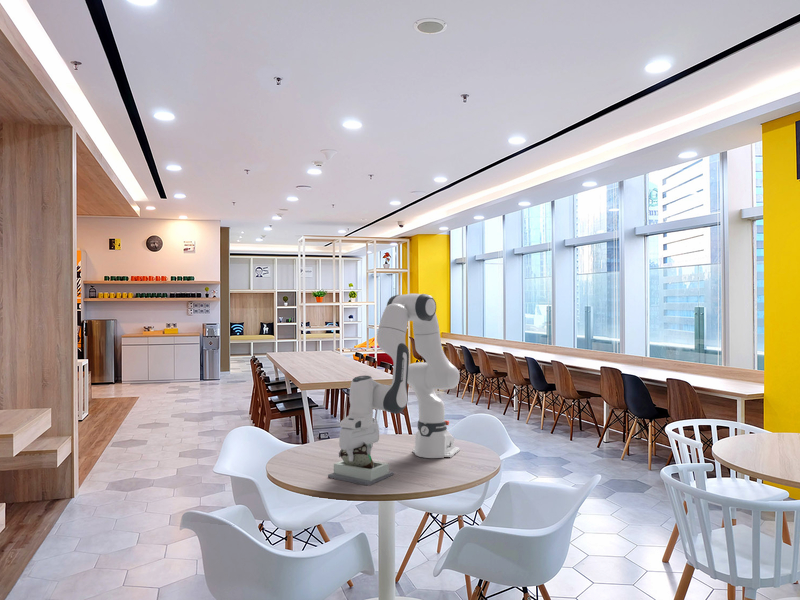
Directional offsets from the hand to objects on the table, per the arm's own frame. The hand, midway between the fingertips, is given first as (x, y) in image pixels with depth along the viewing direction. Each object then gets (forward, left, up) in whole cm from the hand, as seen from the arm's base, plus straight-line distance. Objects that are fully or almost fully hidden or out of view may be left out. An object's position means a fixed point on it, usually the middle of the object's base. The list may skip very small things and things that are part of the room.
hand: (359, 458), depth 198 cm
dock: (-1, 0, -7) cm, 7 cm away
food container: (-4, 0, -3) cm, 5 cm away
